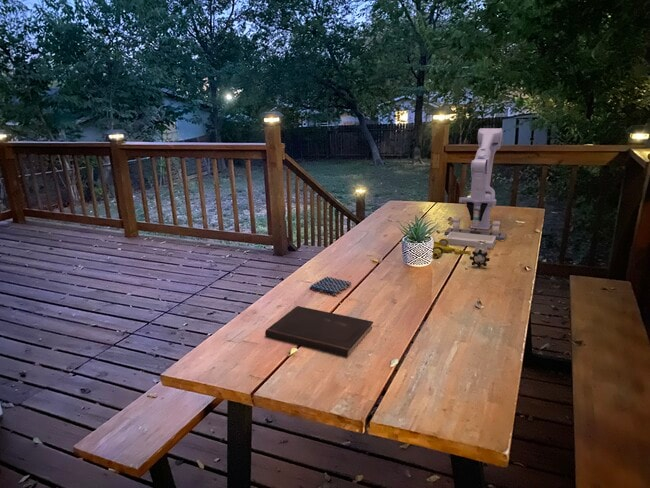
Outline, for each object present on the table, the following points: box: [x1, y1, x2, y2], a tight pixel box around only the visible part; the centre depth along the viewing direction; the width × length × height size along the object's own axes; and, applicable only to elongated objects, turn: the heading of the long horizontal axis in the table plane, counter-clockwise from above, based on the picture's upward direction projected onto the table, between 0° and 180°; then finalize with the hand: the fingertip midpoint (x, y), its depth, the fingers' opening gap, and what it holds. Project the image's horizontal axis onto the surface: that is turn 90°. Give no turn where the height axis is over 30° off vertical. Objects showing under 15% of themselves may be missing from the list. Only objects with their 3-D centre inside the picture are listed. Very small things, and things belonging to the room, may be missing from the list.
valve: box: [469, 240, 491, 269], centre depth 161 cm, size 7×7×12 cm
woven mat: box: [309, 276, 352, 297], centre depth 144 cm, size 10×11×2 cm
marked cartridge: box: [471, 209, 480, 227], centre depth 190 cm, size 3×3×7 cm
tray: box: [444, 232, 497, 250], centre depth 183 cm, size 10×18×2 cm, turn 63°
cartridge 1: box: [452, 217, 461, 232], centre depth 195 cm, size 3×3×7 cm
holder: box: [444, 227, 507, 241], centre depth 192 cm, size 7×24×2 cm, turn 63°
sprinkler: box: [432, 238, 472, 259], centre depth 172 cm, size 19×4×15 cm
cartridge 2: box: [491, 220, 501, 236], centre depth 188 cm, size 3×3×7 cm
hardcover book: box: [264, 305, 374, 358], centre depth 116 cm, size 16×23×2 cm
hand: (476, 220), depth 190 cm, fingers closed on marked cartridge, 3 cm apart
